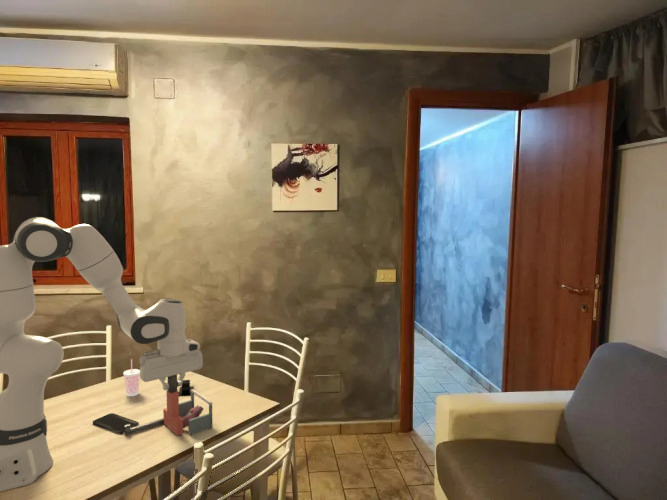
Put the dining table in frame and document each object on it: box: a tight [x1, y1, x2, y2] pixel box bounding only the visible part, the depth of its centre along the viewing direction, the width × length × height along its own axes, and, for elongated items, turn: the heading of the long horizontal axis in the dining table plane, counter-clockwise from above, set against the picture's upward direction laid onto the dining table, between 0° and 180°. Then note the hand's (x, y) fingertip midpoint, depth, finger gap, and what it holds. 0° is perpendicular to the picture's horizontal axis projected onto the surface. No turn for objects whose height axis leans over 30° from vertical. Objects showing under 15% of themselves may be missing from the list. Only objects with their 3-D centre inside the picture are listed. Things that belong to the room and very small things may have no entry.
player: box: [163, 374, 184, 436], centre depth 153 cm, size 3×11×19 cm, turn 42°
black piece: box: [178, 379, 195, 397], centre depth 185 cm, size 12×7×5 cm, turn 13°
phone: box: [92, 412, 140, 435], centre depth 157 cm, size 8×1×15 cm
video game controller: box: [183, 404, 204, 429], centre depth 157 cm, size 10×5×7 cm, turn 170°
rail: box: [123, 417, 165, 436], centre depth 154 cm, size 14×1×3 cm, turn 132°
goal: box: [179, 388, 213, 436], centre depth 158 cm, size 8×15×9 cm, turn 42°
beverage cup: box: [122, 358, 140, 397], centre depth 181 cm, size 6×6×14 cm
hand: (172, 387), depth 152 cm, fingers closed on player, 3 cm apart
